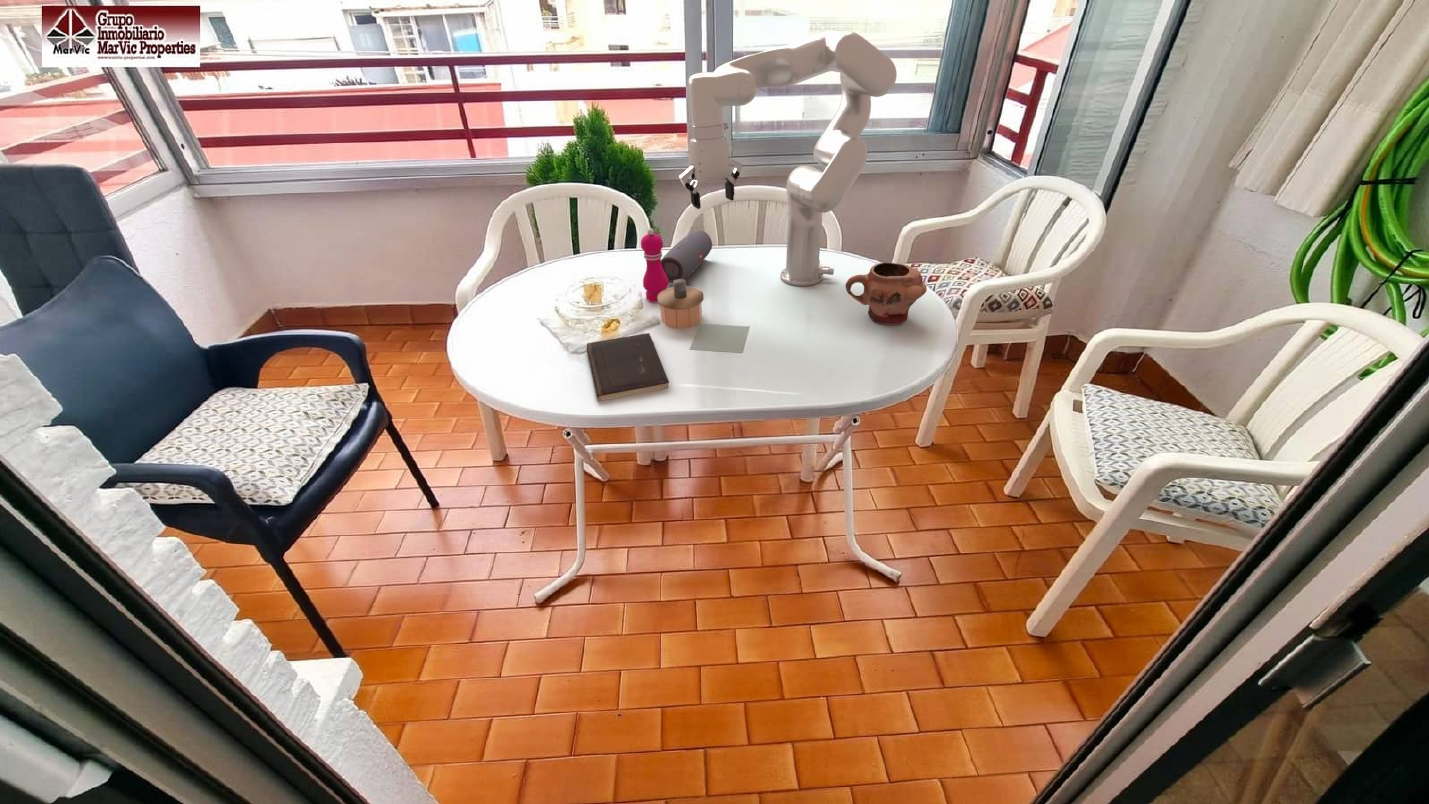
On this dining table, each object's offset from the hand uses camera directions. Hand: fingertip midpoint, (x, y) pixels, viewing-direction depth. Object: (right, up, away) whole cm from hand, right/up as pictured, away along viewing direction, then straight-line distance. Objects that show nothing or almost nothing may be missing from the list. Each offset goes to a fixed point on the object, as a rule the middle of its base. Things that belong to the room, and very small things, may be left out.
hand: (713, 203), depth 149 cm
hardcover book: (-21, -44, -13) cm, 50 cm away
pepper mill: (-16, -21, +16) cm, 32 cm away
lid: (-9, -24, +2) cm, 26 cm away
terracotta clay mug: (+44, -29, +3) cm, 53 cm away
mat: (+2, -35, -4) cm, 36 cm away
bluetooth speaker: (-8, -11, +30) cm, 33 cm away
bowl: (-9, -29, +5) cm, 31 cm away
